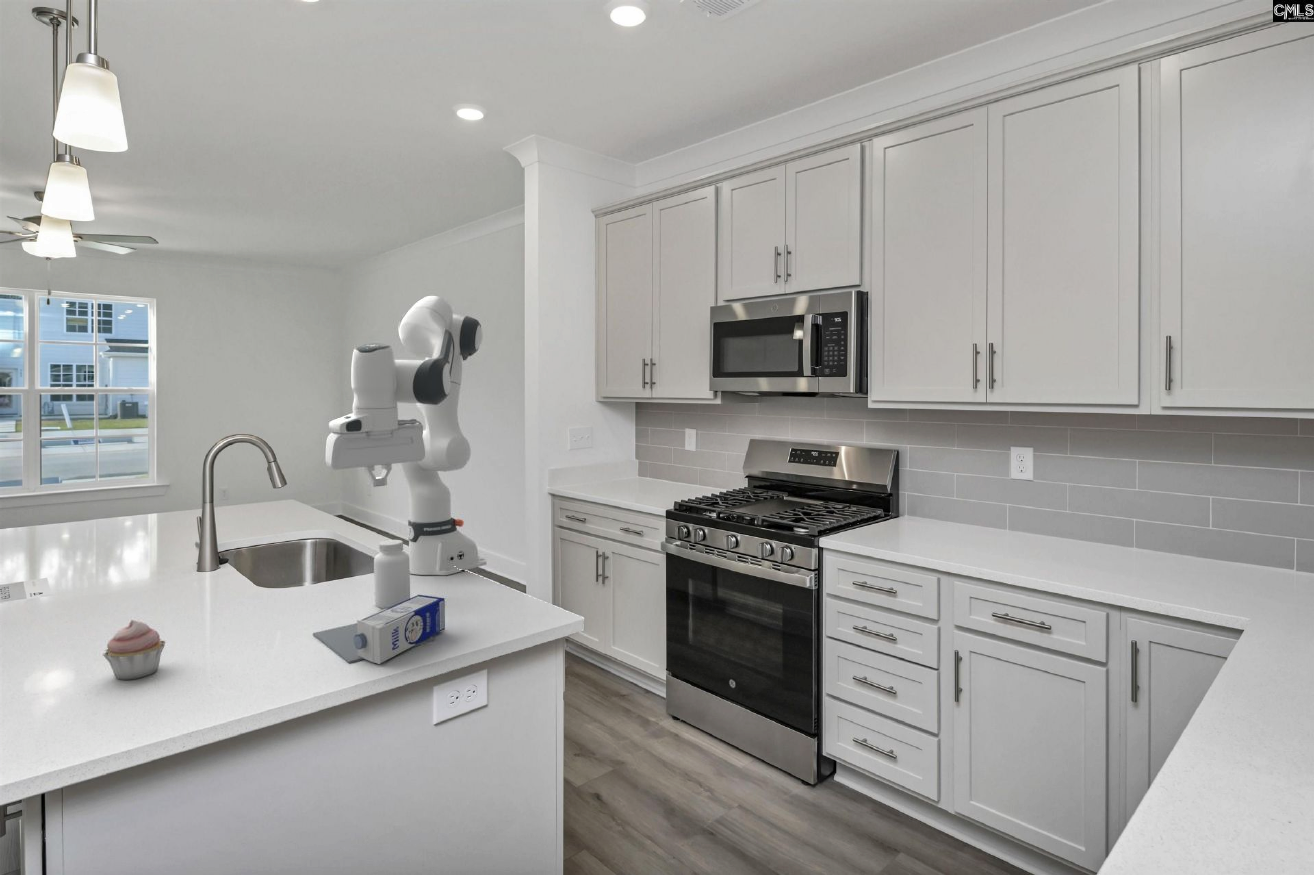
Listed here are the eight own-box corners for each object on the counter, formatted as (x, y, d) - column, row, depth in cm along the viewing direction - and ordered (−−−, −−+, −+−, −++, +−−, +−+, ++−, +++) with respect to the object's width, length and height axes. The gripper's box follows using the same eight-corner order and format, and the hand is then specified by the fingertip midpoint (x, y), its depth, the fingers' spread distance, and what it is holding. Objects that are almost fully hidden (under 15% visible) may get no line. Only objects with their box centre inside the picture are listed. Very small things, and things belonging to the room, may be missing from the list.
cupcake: (100, 672, 130) (97, 619, 129) (161, 659, 136) (159, 607, 135) (107, 689, 123) (104, 632, 122) (172, 674, 129) (169, 620, 129)
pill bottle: (367, 607, 167) (366, 544, 166) (388, 597, 175) (387, 537, 174) (397, 610, 166) (396, 547, 164) (417, 600, 173) (416, 539, 172)
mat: (392, 616, 161) (392, 615, 161) (433, 641, 147) (433, 639, 147) (312, 635, 149) (312, 633, 149) (348, 663, 135) (348, 661, 135)
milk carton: (445, 630, 152) (379, 665, 133) (418, 625, 154) (350, 659, 136) (444, 597, 152) (378, 628, 133) (418, 593, 154) (349, 623, 135)
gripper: (416, 417, 160) (418, 478, 161) (320, 423, 146) (324, 490, 147) (429, 419, 155) (431, 482, 157) (332, 425, 141) (335, 494, 143)
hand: (378, 486), depth 152 cm, fingers closed
